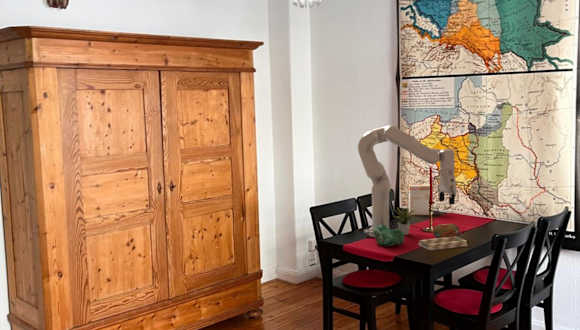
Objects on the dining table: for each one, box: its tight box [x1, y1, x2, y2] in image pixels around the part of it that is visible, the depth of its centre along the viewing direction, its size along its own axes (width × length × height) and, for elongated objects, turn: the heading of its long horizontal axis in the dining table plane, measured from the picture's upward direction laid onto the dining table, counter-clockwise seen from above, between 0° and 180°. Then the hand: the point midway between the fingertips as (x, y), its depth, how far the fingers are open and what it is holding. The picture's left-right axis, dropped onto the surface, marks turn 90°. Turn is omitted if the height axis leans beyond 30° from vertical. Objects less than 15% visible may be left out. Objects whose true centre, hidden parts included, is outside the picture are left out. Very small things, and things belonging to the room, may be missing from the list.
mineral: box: [373, 224, 405, 247], centre depth 319 cm, size 18×16×10 cm
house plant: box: [394, 205, 416, 236], centre depth 340 cm, size 14×14×16 cm
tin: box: [432, 223, 460, 239], centre depth 329 cm, size 15×3×8 cm, turn 101°
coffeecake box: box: [408, 183, 434, 216], centre depth 391 cm, size 15×7×20 cm, turn 84°
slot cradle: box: [417, 236, 469, 251], centre depth 316 cm, size 23×12×3 cm, turn 109°
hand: (446, 202), depth 327 cm, fingers open, 9 cm apart
